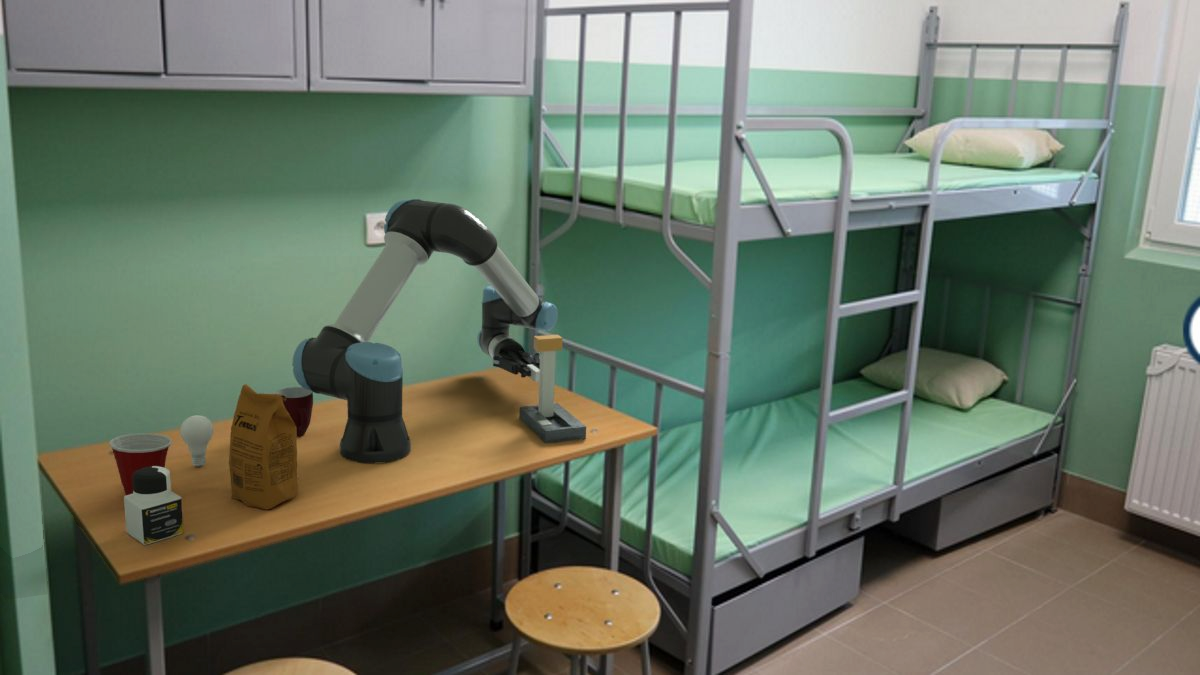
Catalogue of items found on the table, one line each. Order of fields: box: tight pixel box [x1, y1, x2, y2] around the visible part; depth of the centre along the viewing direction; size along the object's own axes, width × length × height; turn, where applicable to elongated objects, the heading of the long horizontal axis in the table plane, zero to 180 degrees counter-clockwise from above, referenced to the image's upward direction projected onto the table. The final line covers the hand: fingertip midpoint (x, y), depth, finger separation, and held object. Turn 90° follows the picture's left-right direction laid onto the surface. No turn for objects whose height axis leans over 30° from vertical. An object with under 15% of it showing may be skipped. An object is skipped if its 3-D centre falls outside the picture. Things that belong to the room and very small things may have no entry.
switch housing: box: [518, 402, 587, 444], centre depth 242 cm, size 18×10×3 cm, turn 24°
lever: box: [533, 334, 563, 417], centre depth 243 cm, size 3×6×20 cm, turn 114°
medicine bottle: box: [123, 466, 184, 546], centre depth 179 cm, size 7×7×12 cm
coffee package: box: [228, 383, 299, 510], centre depth 194 cm, size 10×12×22 cm
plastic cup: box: [108, 432, 173, 496], centre depth 193 cm, size 11×11×12 cm
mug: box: [275, 386, 314, 438], centre depth 229 cm, size 11×8×10 cm
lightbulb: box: [179, 414, 214, 468], centre depth 209 cm, size 6×6×11 cm
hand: (538, 376), depth 249 cm, fingers closed
